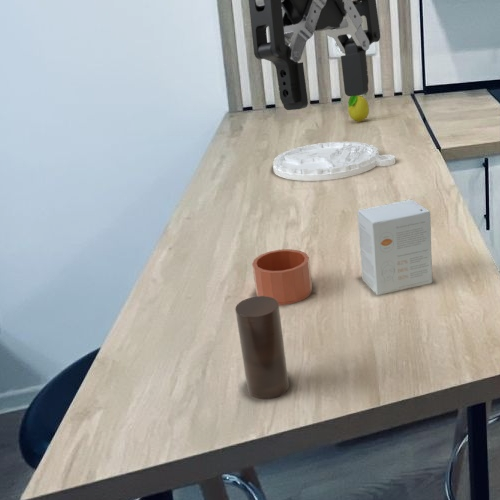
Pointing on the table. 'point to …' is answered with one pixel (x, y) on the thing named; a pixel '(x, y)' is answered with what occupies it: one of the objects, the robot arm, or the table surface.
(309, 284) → the socket cup
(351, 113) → the lemon
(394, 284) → the small box
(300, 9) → the robot arm
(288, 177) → the medallion
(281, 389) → the peg
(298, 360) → the table surface
